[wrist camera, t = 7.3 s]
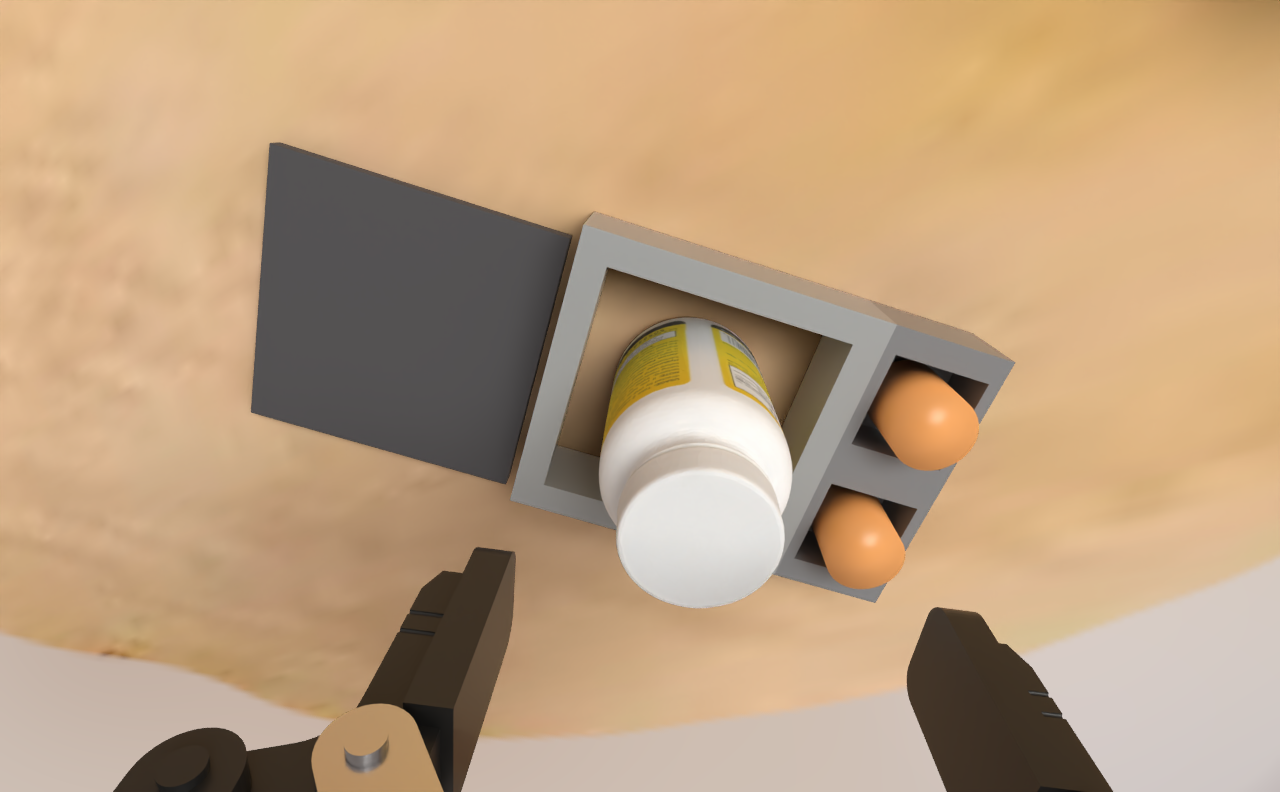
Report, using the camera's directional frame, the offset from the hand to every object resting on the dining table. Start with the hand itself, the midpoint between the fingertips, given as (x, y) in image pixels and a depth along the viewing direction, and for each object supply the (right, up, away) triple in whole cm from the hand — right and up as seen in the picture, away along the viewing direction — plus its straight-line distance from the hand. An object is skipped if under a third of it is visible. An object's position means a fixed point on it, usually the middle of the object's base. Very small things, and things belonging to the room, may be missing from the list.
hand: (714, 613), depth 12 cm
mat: (-10, +7, +11) cm, 16 cm away
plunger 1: (+6, 0, +12) cm, 13 cm away
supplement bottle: (0, +5, +12) cm, 13 cm away
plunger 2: (+8, +4, +10) cm, 13 cm away
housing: (+2, +4, +12) cm, 13 cm away
